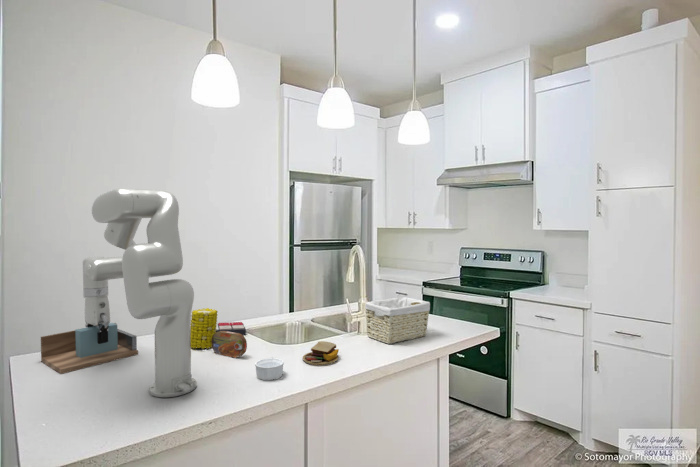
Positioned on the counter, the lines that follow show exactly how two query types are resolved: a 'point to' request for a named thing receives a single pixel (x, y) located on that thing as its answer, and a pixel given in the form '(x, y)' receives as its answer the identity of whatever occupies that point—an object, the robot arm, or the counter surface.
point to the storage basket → (397, 319)
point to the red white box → (231, 327)
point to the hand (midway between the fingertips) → (96, 340)
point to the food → (203, 327)
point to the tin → (229, 344)
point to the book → (95, 341)
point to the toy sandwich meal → (322, 354)
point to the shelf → (63, 359)
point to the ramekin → (269, 368)
